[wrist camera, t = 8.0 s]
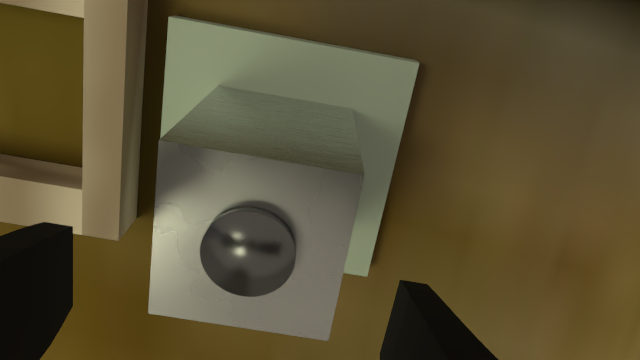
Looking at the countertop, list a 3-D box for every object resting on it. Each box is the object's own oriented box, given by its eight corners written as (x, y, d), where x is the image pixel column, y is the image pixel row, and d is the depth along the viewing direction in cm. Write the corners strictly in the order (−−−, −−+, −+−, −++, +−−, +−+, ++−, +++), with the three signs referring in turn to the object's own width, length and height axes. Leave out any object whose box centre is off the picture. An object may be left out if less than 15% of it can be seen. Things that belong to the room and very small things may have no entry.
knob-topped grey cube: (205, 207, 20) (143, 322, 14) (218, 85, 19) (153, 145, 12) (328, 228, 21) (328, 350, 14) (352, 108, 19) (365, 180, 12)
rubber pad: (159, 232, 22) (153, 241, 21) (175, 15, 19) (168, 16, 18) (365, 266, 22) (367, 276, 21) (416, 59, 19) (419, 63, 18)
